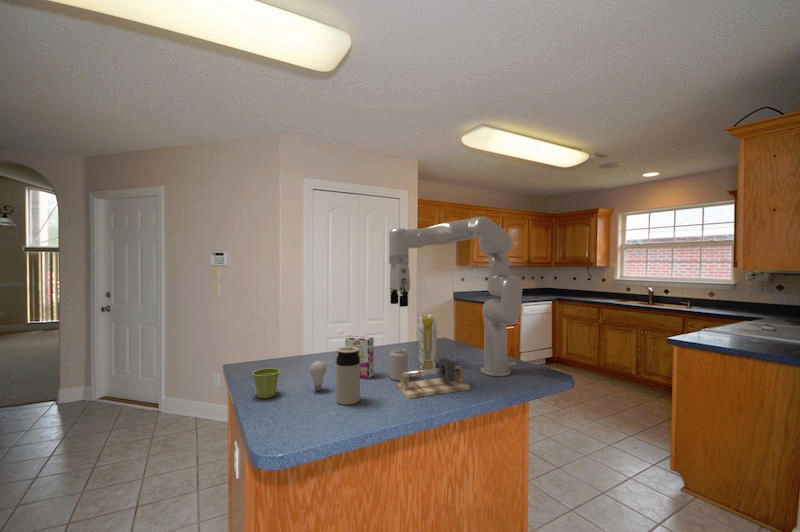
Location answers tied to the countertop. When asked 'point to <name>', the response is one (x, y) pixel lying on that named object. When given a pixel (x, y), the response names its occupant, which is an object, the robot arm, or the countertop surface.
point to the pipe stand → (432, 386)
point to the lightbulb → (318, 373)
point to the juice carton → (427, 342)
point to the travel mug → (348, 375)
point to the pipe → (428, 371)
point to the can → (398, 363)
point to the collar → (447, 369)
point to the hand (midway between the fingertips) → (398, 305)
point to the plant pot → (266, 382)
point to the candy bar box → (363, 354)
